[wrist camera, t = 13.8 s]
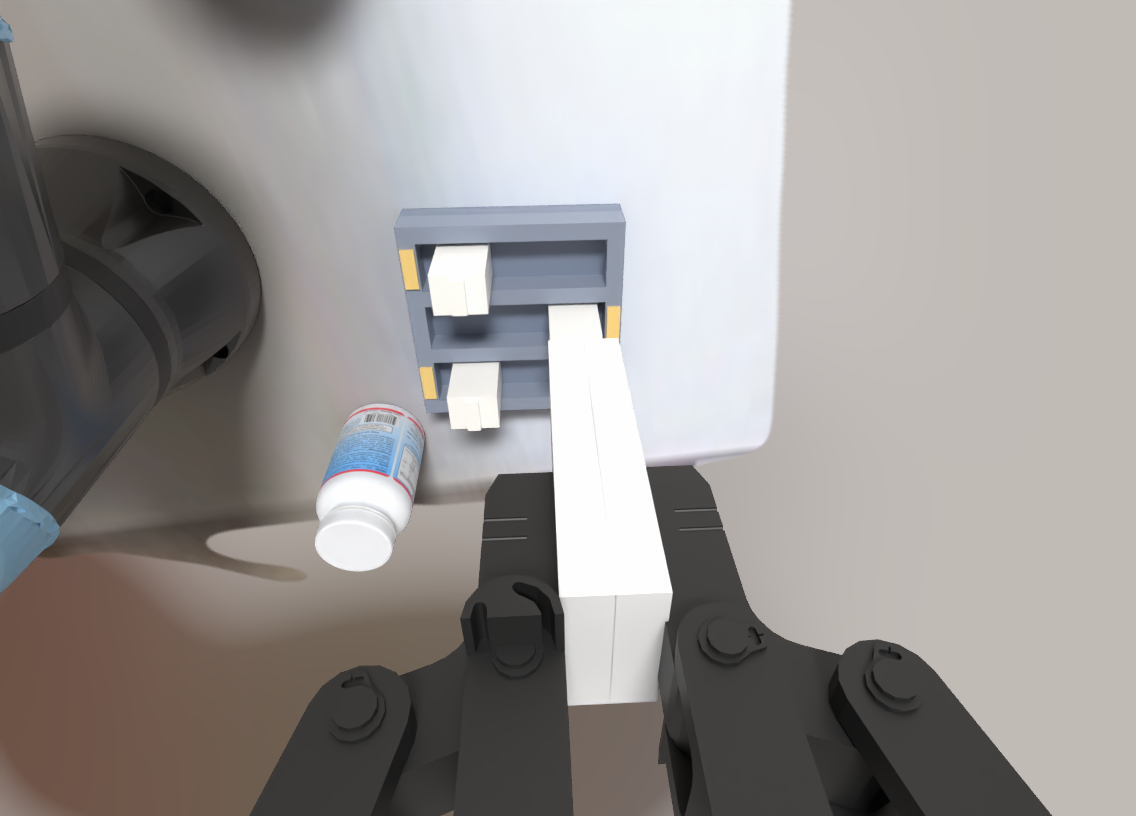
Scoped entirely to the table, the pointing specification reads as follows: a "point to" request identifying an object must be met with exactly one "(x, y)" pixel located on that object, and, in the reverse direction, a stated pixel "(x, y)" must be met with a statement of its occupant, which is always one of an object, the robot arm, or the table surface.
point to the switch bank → (511, 289)
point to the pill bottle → (369, 487)
